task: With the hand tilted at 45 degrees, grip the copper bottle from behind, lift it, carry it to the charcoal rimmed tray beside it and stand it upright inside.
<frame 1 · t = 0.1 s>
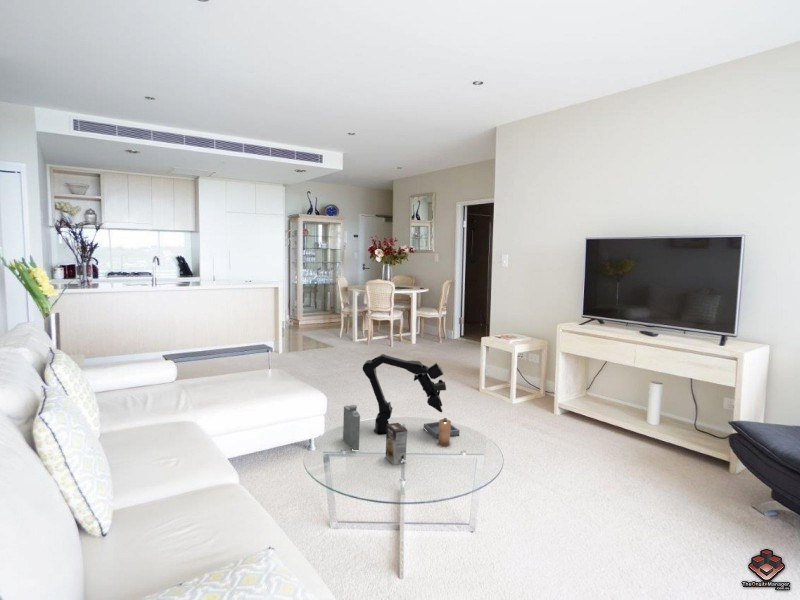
hand: (441, 408, 243), 15 cm above the table, tool tilted 35°, fingers open, 9 cm apart
coffee box: (395, 460, 216), on the table
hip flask: (351, 445, 230), on the table
copper bottle: (443, 444, 235), on the table
fill tray: (441, 432, 250), on the table
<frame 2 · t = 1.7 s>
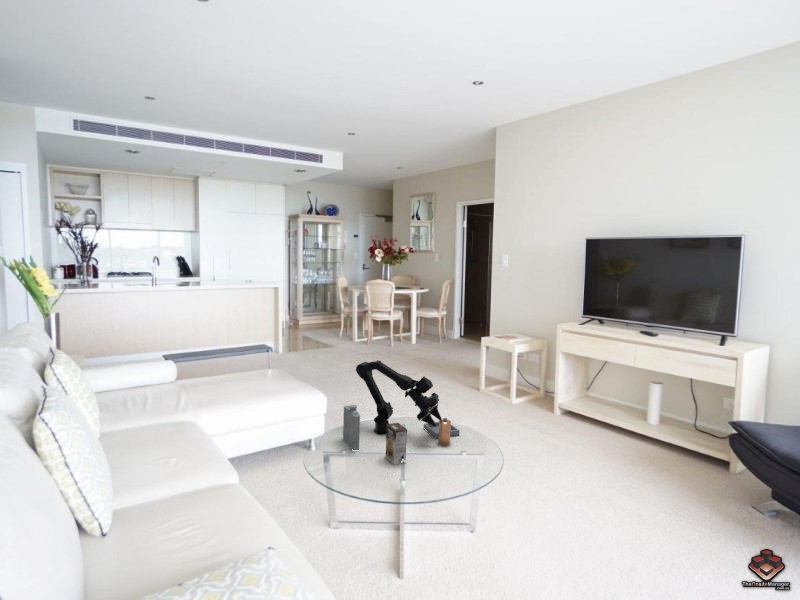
hand: (438, 422, 235), 11 cm above the table, tool tilted 45°, fingers open, 9 cm apart
nothing on the table moved.
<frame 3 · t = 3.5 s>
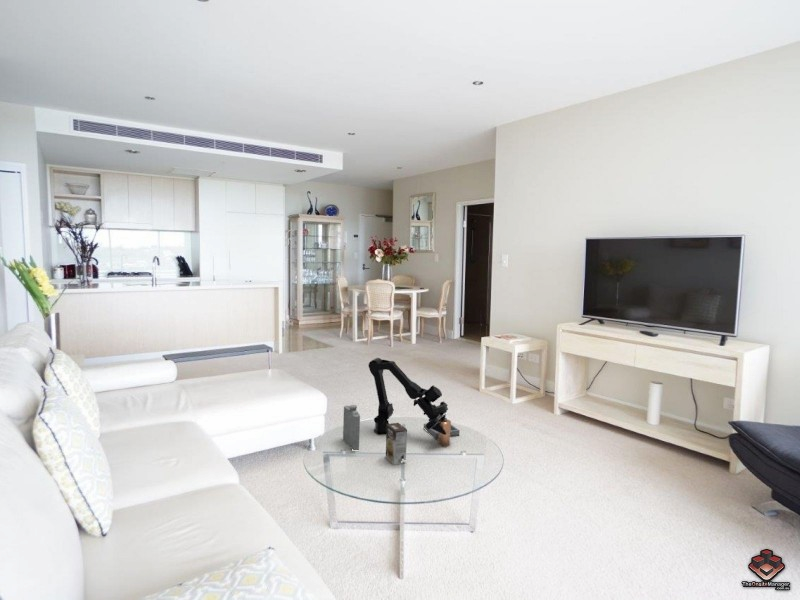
hand: (447, 432, 234), 7 cm above the table, tool tilted 45°, fingers closed on copper bottle, 6 cm apart
copper bottle: (443, 444, 235), on the table, touching gripper
everything else where it was.
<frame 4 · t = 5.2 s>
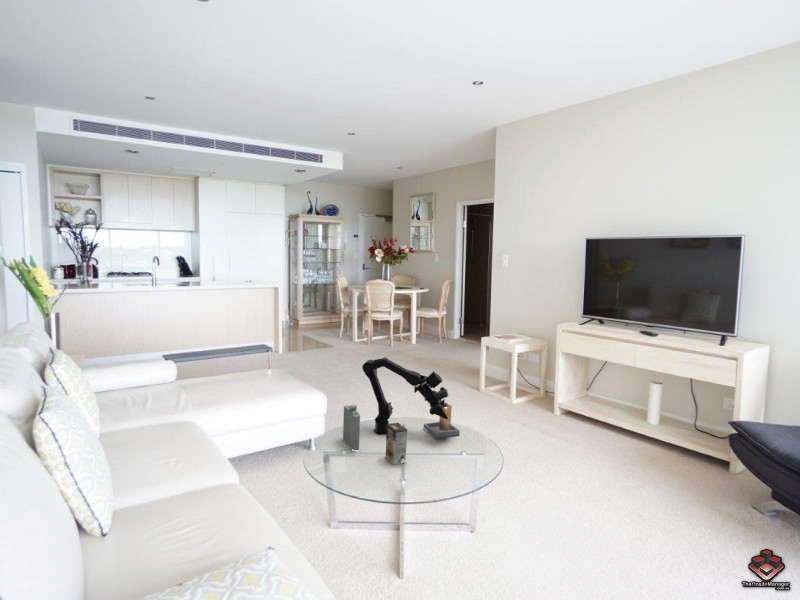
hand: (448, 416, 239), 12 cm above the table, tool tilted 45°, fingers closed on copper bottle, 6 cm apart
copper bottle: (444, 428, 240), point 6 cm above the table, touching gripper
everything else where it was.
when the fingers open (9 cm above the table, at t = 7.1 s): copper bottle drops 1 cm, resting on fill tray.
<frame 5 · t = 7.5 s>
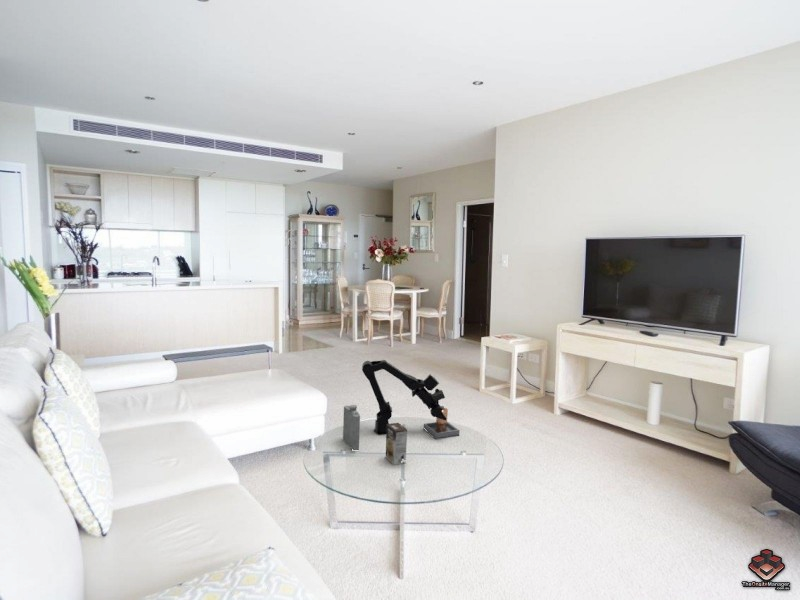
hand: (444, 416, 249), 9 cm above the table, tool tilted 45°, fingers open, 9 cm apart
copper bottle: (441, 430, 250), point 1 cm above the table, touching fill tray
everything else where it was.
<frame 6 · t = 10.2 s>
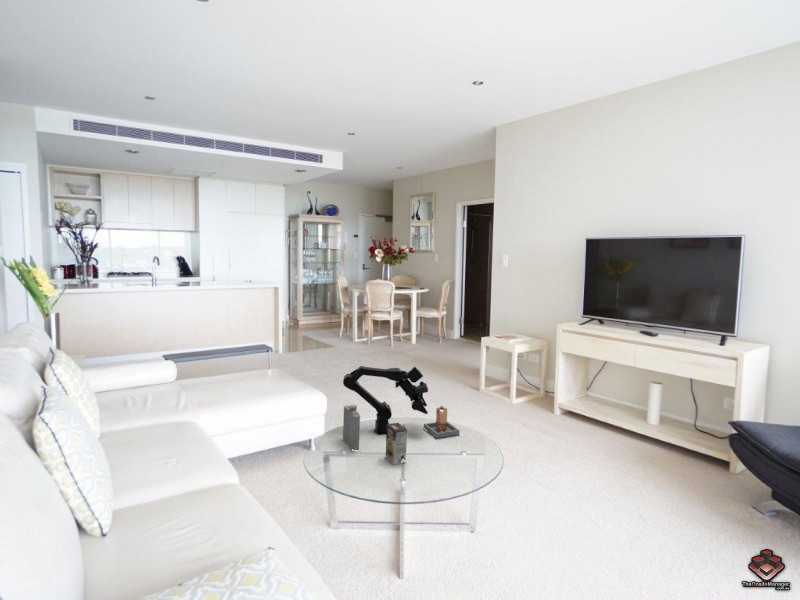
hand: (426, 409, 248), 12 cm above the table, tool tilted 40°, fingers open, 9 cm apart
nothing on the table moved.
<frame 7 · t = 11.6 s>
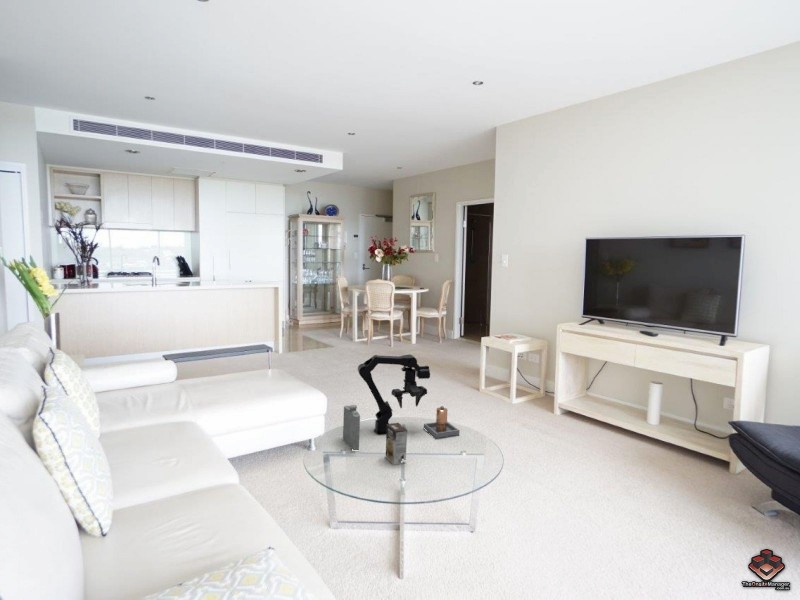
hand: (408, 407, 249), 13 cm above the table, tool pointing down, fingers open, 9 cm apart
nothing on the table moved.
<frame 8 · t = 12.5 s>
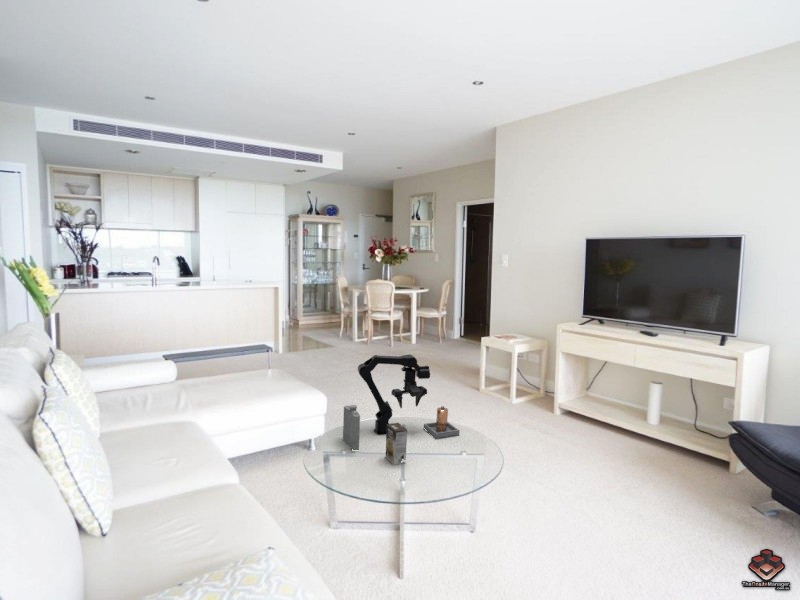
hand: (408, 407, 249), 13 cm above the table, tool pointing down, fingers open, 9 cm apart
nothing on the table moved.
at the end: copper bottle 0.1 cm off-centre on the fill tray, point 0.9 cm above the fill tray's base; copper bottle tilted 1°; the gripper is holding nothing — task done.
